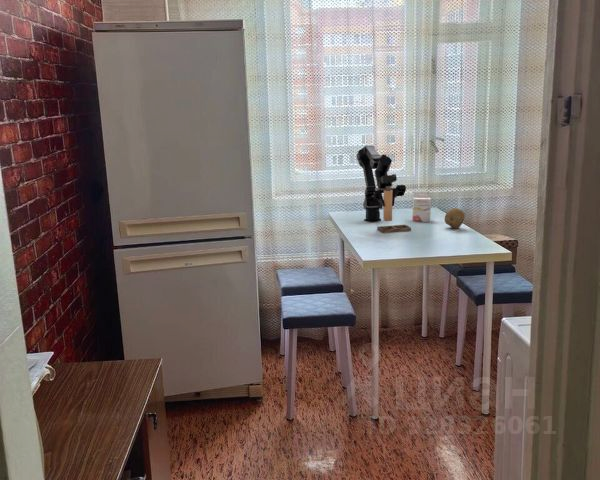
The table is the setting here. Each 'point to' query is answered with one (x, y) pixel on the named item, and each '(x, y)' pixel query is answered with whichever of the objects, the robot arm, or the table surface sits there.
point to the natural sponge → (454, 218)
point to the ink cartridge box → (421, 206)
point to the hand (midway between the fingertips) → (388, 206)
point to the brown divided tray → (393, 228)
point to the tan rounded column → (387, 204)
